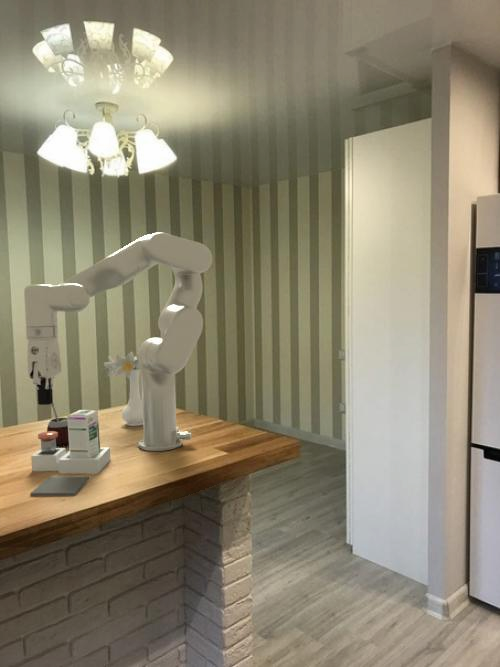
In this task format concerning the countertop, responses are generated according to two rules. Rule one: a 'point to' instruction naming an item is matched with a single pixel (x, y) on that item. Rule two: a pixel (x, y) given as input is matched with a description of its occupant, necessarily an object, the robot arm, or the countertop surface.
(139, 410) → the flower vase
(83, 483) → the mat
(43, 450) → the copper rounded piece
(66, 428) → the mate gourd
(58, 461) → the housing
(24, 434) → the countertop surface
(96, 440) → the syrup box
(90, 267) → the robot arm
